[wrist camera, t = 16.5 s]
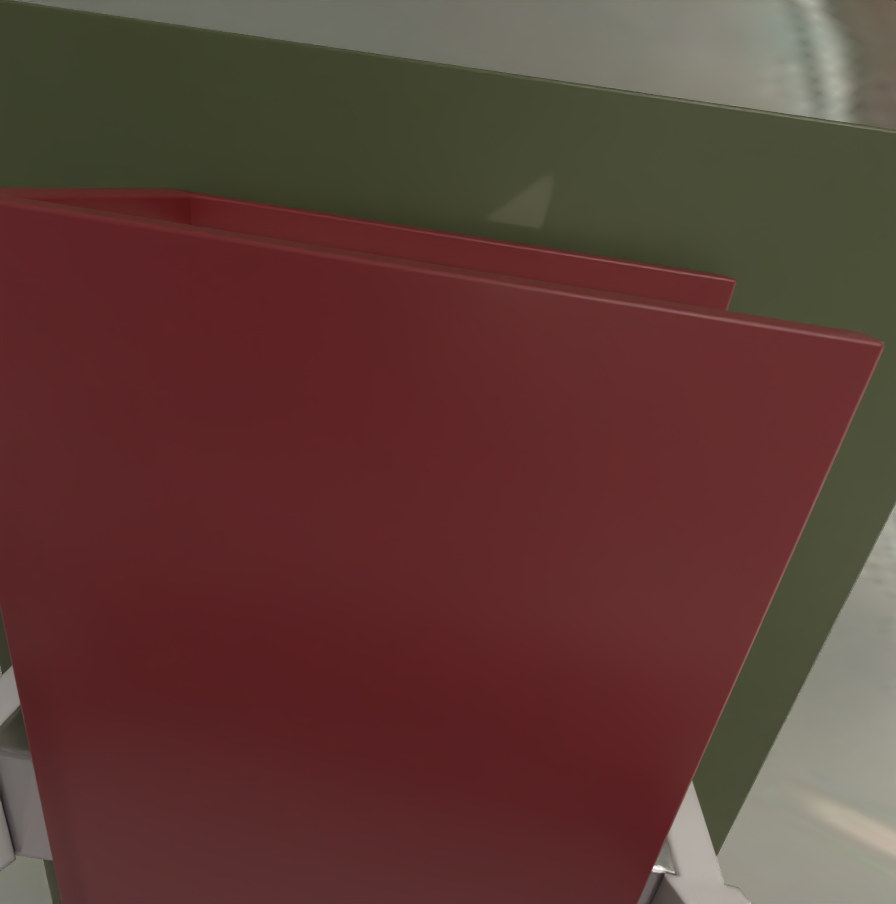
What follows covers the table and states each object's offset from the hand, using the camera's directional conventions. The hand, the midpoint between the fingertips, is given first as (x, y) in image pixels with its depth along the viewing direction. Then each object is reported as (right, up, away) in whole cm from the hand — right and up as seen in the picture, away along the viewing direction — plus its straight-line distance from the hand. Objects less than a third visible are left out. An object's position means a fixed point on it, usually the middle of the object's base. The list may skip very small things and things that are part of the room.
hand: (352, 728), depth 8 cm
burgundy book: (0, 0, +1) cm, 1 cm away
